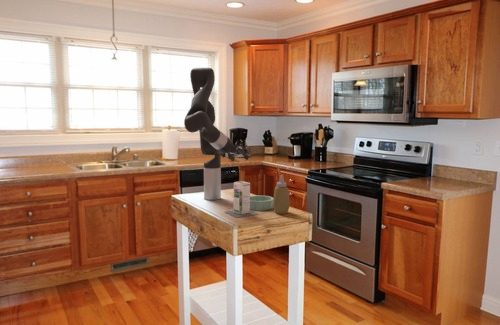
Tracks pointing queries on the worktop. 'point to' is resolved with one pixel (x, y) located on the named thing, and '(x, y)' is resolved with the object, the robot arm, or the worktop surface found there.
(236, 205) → the syrup box
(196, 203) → the worktop surface
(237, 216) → the mat
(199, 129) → the robot arm
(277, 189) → the squeeze bottle
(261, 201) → the bowl
